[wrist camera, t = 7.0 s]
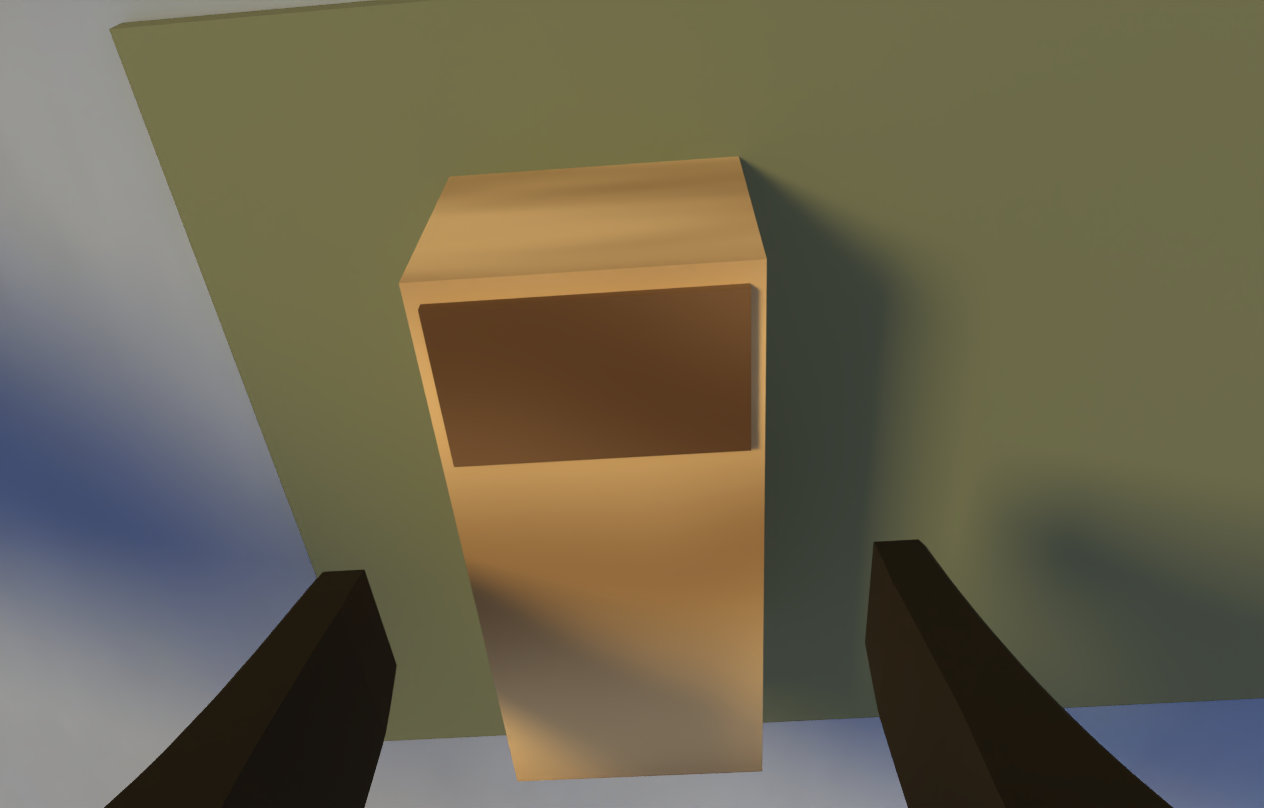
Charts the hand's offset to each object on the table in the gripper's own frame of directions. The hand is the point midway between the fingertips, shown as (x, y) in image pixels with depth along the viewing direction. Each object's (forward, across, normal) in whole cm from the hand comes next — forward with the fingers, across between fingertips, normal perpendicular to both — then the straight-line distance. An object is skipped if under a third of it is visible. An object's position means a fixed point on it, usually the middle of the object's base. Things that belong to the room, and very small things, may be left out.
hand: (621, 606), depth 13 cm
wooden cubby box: (+4, 0, 0) cm, 4 cm away
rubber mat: (+5, -5, 0) cm, 7 cm away
